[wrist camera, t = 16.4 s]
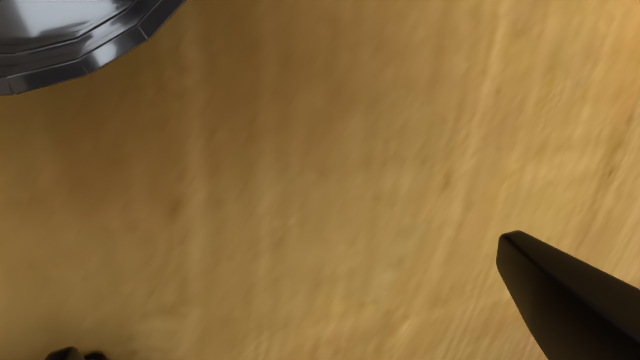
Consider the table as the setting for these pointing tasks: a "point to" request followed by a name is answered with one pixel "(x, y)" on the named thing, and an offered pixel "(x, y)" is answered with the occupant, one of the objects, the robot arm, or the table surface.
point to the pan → (71, 37)
